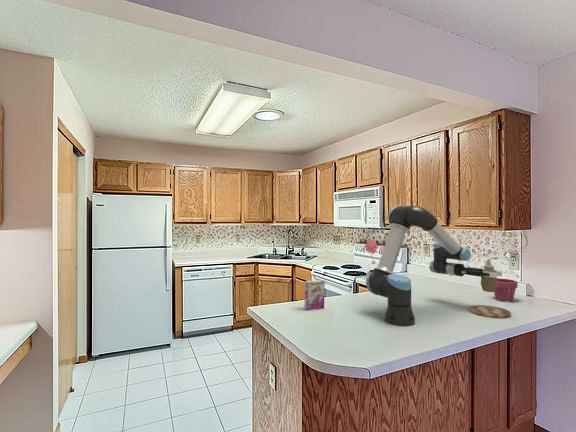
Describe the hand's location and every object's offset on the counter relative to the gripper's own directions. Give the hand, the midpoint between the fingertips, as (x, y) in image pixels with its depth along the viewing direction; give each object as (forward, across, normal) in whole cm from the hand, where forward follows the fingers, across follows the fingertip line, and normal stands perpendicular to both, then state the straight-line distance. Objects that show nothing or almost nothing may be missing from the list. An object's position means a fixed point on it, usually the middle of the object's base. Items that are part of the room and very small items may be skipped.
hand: (499, 274), depth 174 cm
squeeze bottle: (-5, 0, -10) cm, 11 cm away
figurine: (-106, -26, -22) cm, 112 cm away
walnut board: (-5, 0, -22) cm, 23 cm away
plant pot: (-10, -37, -22) cm, 45 cm away
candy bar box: (-73, +71, -22) cm, 104 cm away
